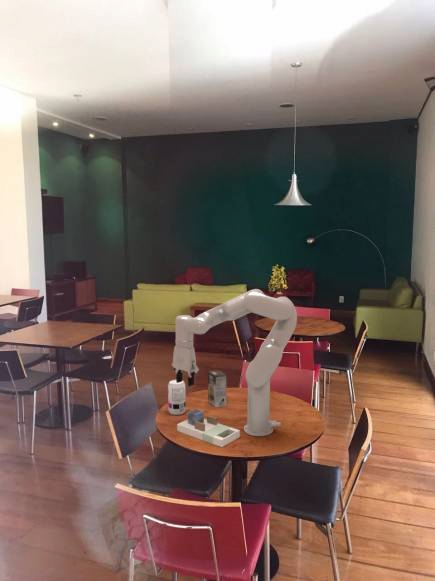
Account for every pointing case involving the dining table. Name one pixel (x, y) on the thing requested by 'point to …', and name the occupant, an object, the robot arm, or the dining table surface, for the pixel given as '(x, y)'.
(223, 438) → the board
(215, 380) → the coffee box
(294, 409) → the dining table surface
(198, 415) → the block
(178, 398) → the supplement can
